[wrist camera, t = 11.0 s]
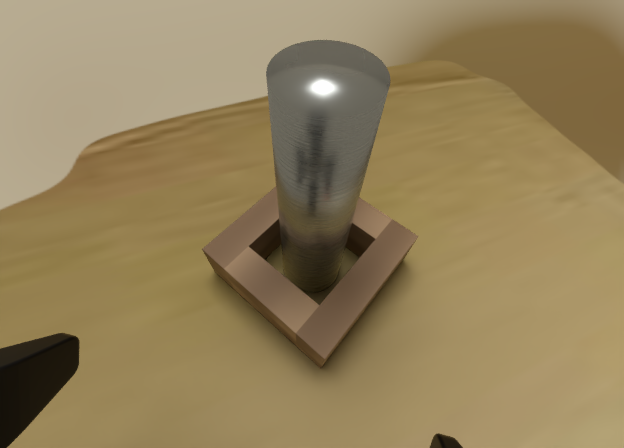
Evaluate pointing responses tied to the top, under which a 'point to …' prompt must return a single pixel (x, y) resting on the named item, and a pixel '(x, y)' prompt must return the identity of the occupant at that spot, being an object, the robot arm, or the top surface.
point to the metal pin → (321, 149)
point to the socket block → (289, 298)
